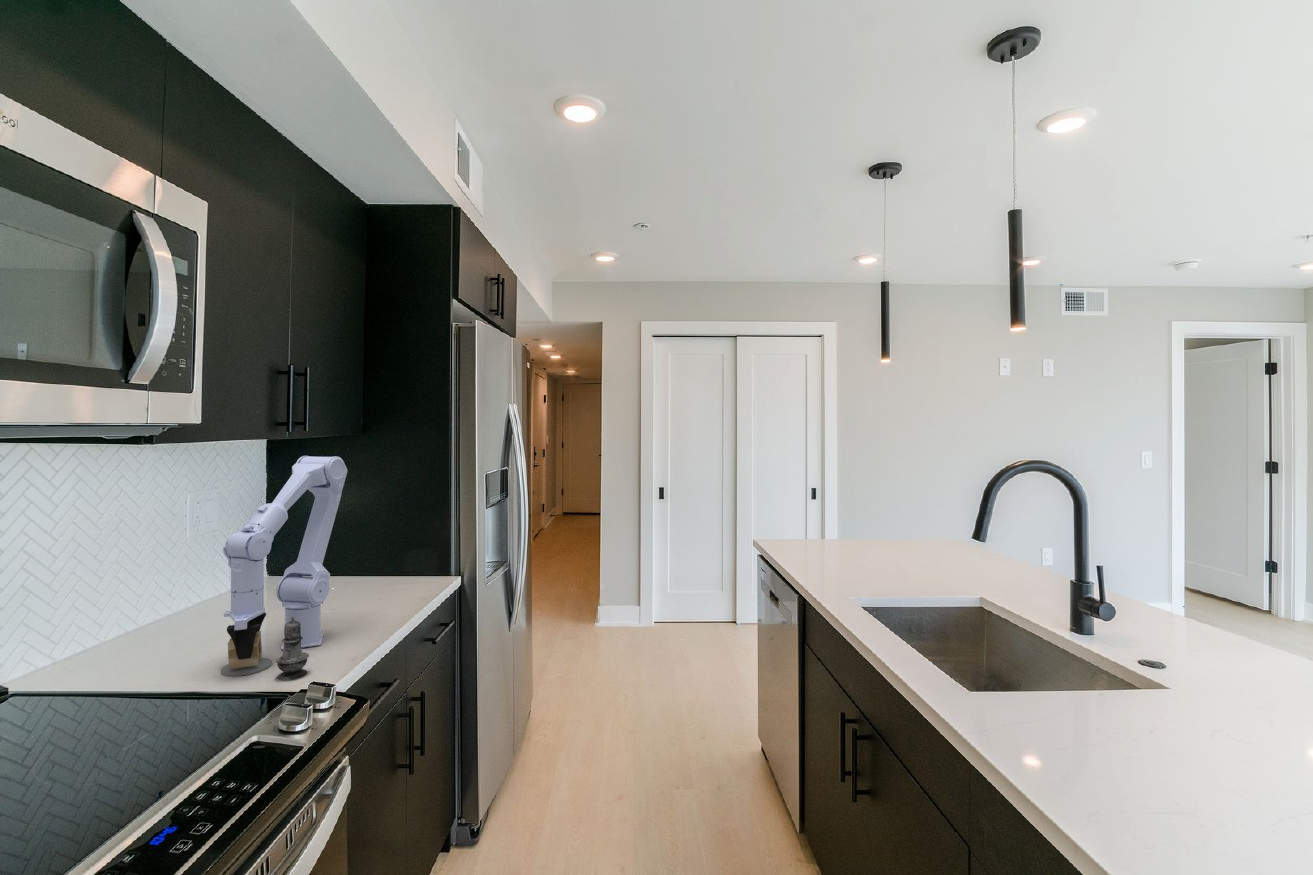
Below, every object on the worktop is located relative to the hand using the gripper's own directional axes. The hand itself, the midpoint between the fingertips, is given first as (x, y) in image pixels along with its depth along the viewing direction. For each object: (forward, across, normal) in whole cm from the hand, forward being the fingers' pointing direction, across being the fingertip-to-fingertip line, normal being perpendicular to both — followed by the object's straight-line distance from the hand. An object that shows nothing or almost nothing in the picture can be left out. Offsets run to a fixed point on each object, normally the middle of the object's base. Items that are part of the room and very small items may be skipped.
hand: (247, 653), depth 125 cm
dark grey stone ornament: (+3, +8, +9) cm, 13 cm away
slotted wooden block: (+2, 0, 0) cm, 2 cm away
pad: (+3, 0, 0) cm, 3 cm away
